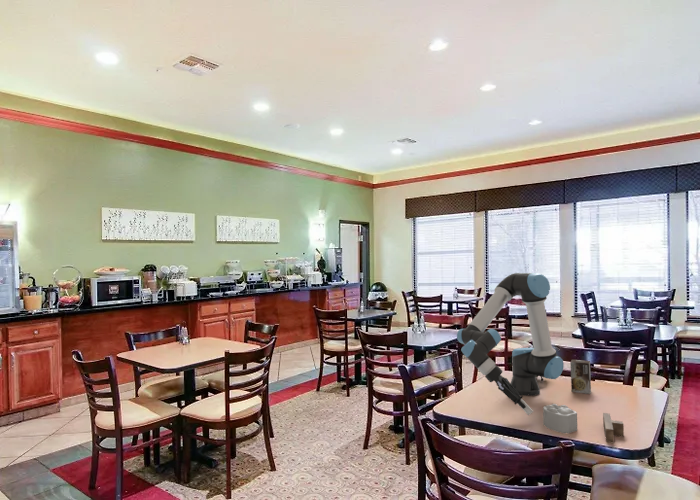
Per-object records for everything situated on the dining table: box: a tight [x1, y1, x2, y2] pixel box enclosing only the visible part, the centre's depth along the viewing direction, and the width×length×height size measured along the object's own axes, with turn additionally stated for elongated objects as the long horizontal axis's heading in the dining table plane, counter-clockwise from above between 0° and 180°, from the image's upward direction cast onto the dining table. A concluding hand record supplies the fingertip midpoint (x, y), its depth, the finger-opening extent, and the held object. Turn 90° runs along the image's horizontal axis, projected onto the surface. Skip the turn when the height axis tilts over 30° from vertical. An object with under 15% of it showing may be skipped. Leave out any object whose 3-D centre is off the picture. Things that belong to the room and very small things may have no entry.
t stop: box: [602, 412, 625, 443], centre depth 180 cm, size 6×20×5 cm, turn 153°
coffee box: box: [569, 359, 592, 395], centre depth 238 cm, size 9×6×16 cm
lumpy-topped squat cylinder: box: [542, 403, 578, 434], centre depth 188 cm, size 10×13×9 cm
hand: (530, 413), depth 194 cm, fingers closed
